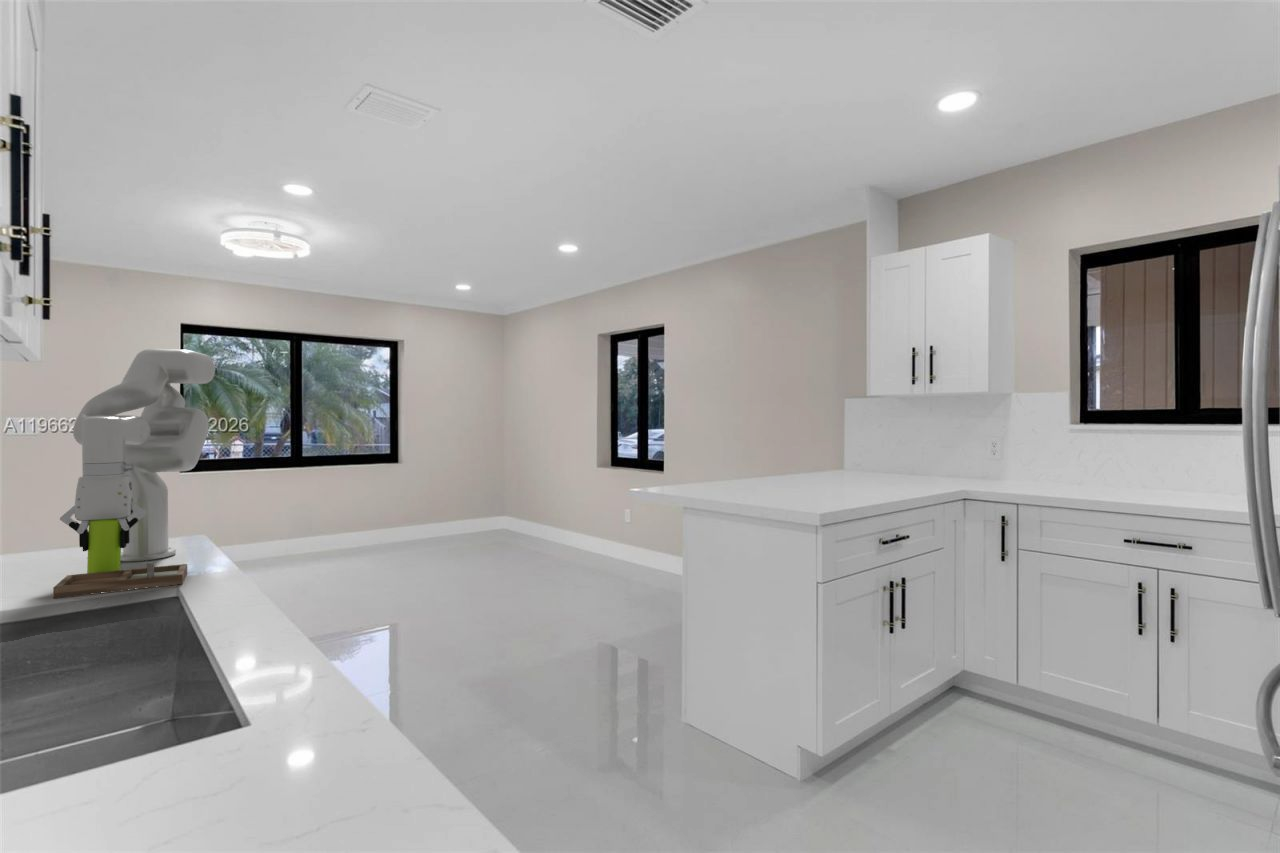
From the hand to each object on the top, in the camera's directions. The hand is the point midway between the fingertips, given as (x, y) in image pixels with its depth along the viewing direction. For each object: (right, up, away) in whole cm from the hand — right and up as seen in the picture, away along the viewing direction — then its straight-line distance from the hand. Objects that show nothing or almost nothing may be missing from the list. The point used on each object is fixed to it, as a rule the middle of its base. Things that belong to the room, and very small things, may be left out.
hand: (105, 547), depth 149 cm
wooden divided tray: (+10, -7, -6) cm, 14 cm away
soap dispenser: (0, -7, 0) cm, 7 cm away
